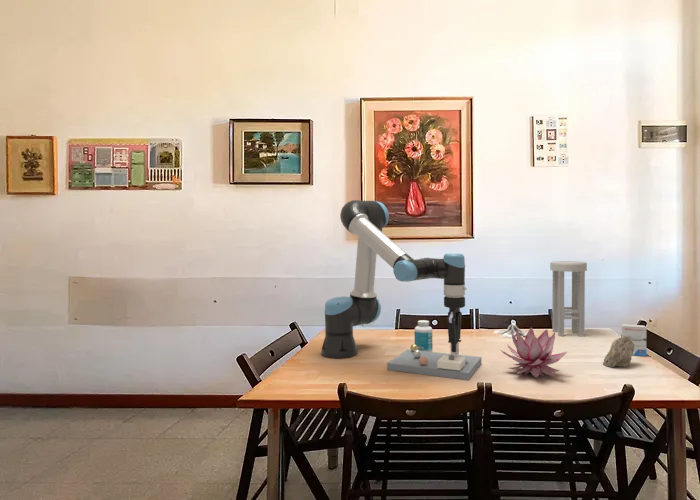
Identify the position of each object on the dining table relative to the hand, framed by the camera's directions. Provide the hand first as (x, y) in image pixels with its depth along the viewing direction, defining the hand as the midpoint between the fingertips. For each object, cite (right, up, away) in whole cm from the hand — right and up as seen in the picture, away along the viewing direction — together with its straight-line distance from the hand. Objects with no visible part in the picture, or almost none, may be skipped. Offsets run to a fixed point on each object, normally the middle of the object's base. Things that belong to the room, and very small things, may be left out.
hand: (454, 360), depth 172 cm
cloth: (+42, -2, +59) cm, 72 cm away
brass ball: (-12, +1, +17) cm, 21 cm away
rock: (+63, -3, +4) cm, 63 cm away
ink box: (+77, -2, +19) cm, 79 cm away
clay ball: (-12, 0, -1) cm, 12 cm away
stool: (+68, -1, +57) cm, 88 cm away
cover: (-2, -1, -4) cm, 5 cm away
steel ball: (-12, 0, +9) cm, 15 cm away
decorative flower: (+27, -4, -4) cm, 28 cm away
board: (-6, -4, +6) cm, 9 cm away
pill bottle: (-7, -3, +25) cm, 26 cm away
